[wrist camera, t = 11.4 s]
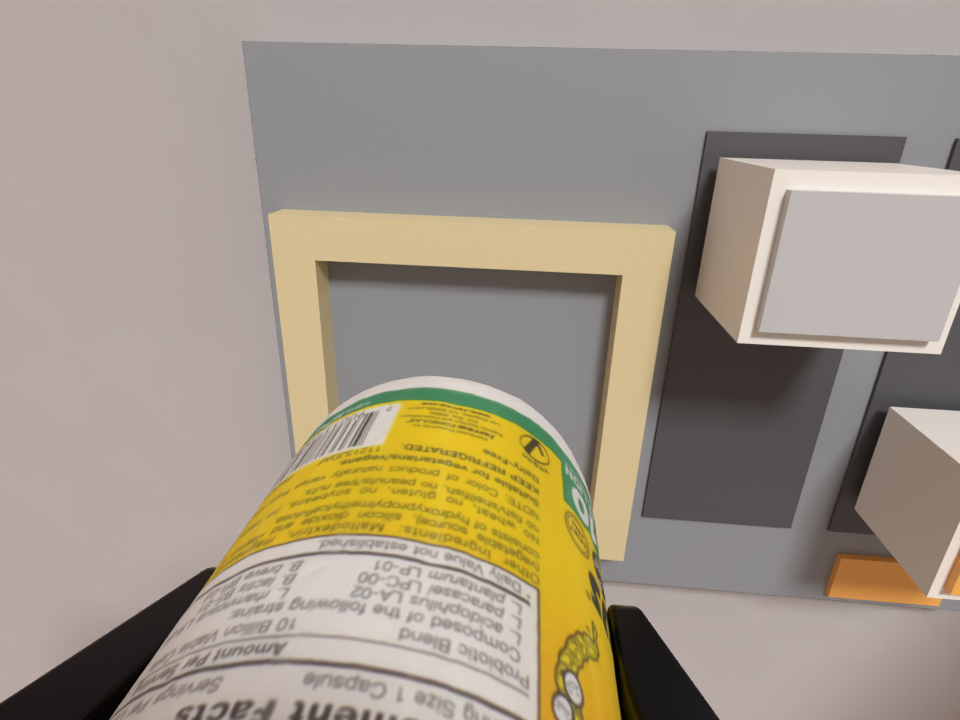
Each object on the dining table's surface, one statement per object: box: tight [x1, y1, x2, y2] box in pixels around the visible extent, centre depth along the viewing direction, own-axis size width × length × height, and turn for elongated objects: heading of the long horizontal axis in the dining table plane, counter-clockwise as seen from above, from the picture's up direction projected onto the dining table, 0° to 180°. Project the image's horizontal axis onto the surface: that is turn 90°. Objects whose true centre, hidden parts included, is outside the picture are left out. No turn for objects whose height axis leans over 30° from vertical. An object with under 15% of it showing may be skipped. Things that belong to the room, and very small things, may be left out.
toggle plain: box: [695, 157, 960, 354], centre depth 11 cm, size 4×3×3 cm
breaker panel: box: [242, 41, 960, 611], centre depth 14 cm, size 20×14×2 cm
